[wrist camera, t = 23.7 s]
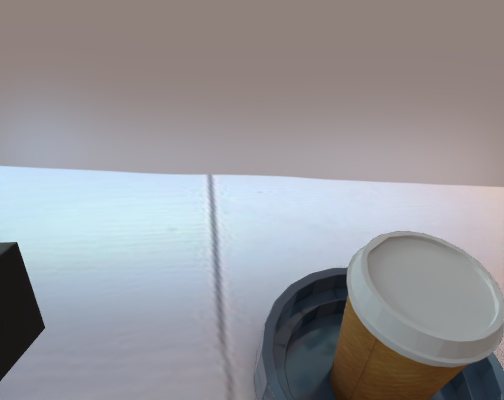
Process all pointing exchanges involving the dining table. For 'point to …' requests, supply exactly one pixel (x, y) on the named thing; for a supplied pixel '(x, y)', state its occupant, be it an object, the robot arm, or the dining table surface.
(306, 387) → the bowl
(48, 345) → the dining table surface
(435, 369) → the disposable coffee cup
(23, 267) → the robot arm
